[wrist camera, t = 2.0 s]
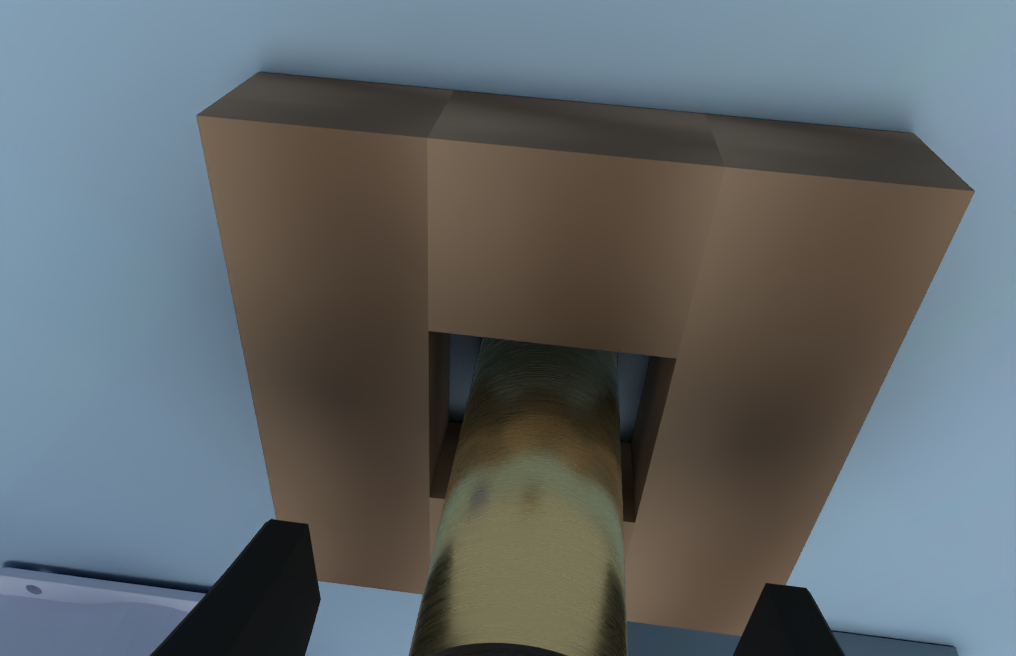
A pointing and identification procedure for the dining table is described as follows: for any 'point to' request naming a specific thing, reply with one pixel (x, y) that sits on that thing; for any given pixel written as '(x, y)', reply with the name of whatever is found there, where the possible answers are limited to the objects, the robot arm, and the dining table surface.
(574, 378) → the spice jar
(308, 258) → the socket block
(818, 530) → the dining table surface
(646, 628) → the block
